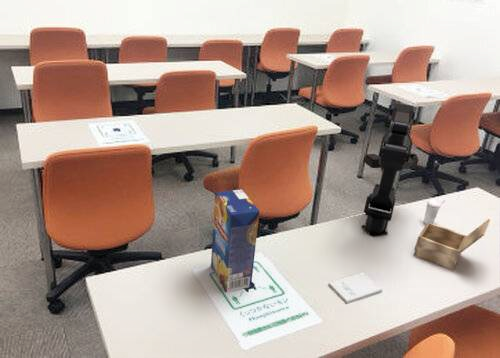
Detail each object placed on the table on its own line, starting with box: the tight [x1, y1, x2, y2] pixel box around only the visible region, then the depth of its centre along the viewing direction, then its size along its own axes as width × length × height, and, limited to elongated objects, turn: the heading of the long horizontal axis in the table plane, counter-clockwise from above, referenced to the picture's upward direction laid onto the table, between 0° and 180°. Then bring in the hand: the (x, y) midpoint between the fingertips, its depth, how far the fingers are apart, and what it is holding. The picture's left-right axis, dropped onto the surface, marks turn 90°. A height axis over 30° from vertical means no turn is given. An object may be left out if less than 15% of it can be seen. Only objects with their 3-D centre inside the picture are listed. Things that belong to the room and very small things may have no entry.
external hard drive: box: [327, 272, 383, 304], centre depth 128 cm, size 2×8×12 cm
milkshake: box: [423, 199, 445, 225], centre depth 162 cm, size 4×5×10 cm
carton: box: [413, 222, 468, 271], centre depth 145 cm, size 12×12×7 cm
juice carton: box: [210, 188, 260, 293], centre depth 123 cm, size 12×8×24 cm, turn 24°
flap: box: [460, 218, 491, 253], centre depth 138 cm, size 9×11×1 cm
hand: (385, 181), depth 162 cm, fingers closed
